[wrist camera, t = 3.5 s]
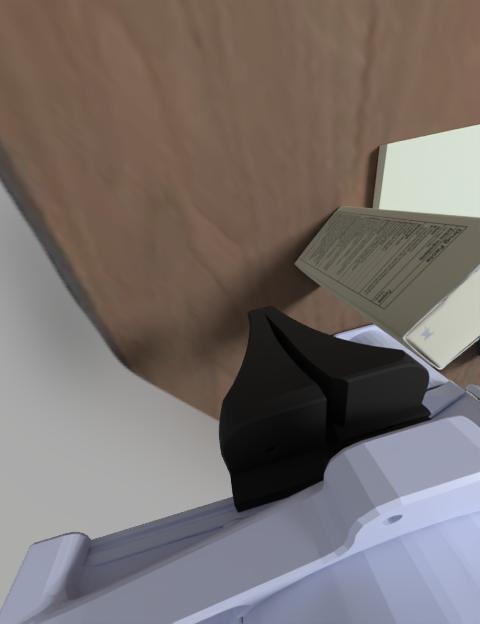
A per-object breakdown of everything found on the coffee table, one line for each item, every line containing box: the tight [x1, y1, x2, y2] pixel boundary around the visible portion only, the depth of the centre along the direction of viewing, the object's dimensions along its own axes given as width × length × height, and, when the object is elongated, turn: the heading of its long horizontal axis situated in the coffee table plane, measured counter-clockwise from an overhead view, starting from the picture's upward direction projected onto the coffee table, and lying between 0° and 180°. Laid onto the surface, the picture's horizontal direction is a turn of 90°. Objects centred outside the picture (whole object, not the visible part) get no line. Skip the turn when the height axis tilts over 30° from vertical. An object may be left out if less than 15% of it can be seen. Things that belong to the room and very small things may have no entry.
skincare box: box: [295, 206, 480, 370], centre depth 15 cm, size 6×4×12 cm
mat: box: [372, 125, 480, 217], centre depth 21 cm, size 14×13×1 cm
